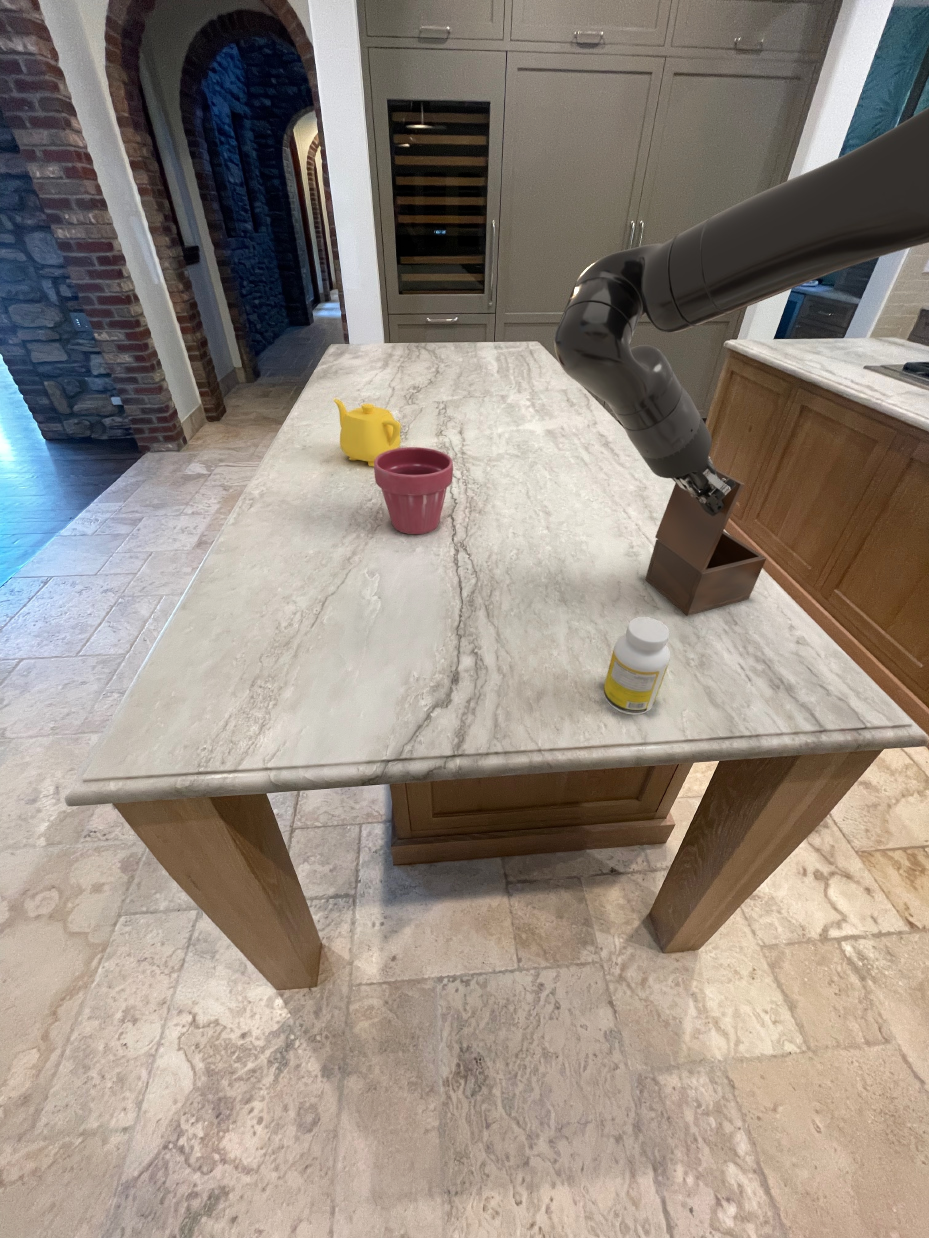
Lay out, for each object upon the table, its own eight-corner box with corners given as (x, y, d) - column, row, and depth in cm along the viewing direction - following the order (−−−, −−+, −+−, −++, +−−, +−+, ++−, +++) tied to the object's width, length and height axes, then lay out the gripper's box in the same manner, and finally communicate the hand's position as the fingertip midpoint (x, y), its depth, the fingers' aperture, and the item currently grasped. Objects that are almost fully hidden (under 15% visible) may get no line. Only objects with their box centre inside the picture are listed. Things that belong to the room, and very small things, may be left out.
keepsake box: (703, 565, 95) (717, 526, 90) (748, 599, 87) (766, 558, 82) (644, 579, 91) (656, 539, 86) (687, 615, 83) (702, 573, 78)
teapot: (357, 440, 139) (352, 390, 131) (419, 457, 131) (417, 405, 123) (320, 456, 130) (312, 403, 123) (383, 475, 122) (379, 420, 114)
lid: (690, 454, 78) (685, 454, 78) (745, 483, 70) (740, 484, 70) (658, 536, 86) (654, 537, 85) (705, 571, 78) (701, 571, 78)
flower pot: (442, 503, 111) (442, 443, 103) (460, 536, 101) (461, 471, 93) (374, 511, 108) (368, 449, 100) (385, 545, 98) (379, 479, 90)
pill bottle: (637, 676, 72) (658, 608, 65) (663, 711, 67) (689, 641, 60) (593, 685, 71) (610, 616, 64) (617, 721, 66) (638, 651, 59)
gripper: (733, 422, 57) (775, 509, 68) (653, 388, 66) (702, 469, 78) (679, 476, 58) (729, 552, 70) (609, 436, 68) (663, 508, 79)
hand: (714, 508), depth 74 cm, fingers closed
